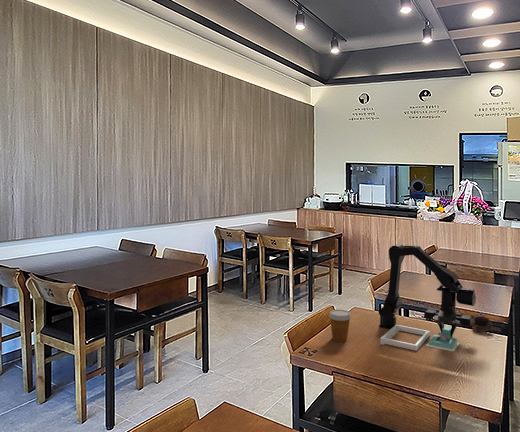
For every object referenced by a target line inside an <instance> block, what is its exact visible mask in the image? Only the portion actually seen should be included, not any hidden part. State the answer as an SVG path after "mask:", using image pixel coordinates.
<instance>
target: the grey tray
mask: <svg viewBox="0 0 520 432" xmlns="http://www.w3.org/2000/svg"><path fill="white" fill-rule="evenodd" d="M399 331H402V332H406V333H407V332H408V333H410V334H411V333H412V334H417V335H421V337H420V338H419V339H418V340H417V342H416V343H415V344H414V343H410V342H405V341H402V340H401V341H400V340H398V339H397V340H396V339H392V338H393V337H394V336H395V335H396V334H398V333H399ZM430 333H431V331H430V330H425V329H421V328H416V327H410V326H406V325H400V324H396V325H395V326H394V327H393V328H391V329H388V331H387V332H386V333H384V335H382V336H381V337H380V345H381V346H385V344H386V345H390V346H395V347H397V348H398V347H399V348H403V349H408V350H412V351H415V352H416V351H418V350H419V349H420V348H421V346H422V345H423V344H424V343H425V341H426V340H427V339H428V338H429V337H430V335H431V334H430Z"/></svg>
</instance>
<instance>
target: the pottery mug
mask: <svg viewBox="0 0 520 432" xmlns="http://www.w3.org/2000/svg"><path fill="white" fill-rule="evenodd" d="M469 316H471V317H472V319H473V321H472V324H471V327H472V330H471V331H472V332H475V333H486V332H491V330H493V327H492V326H493V323H492V322H491V320H490V319H489V318H488V317H487V316H484V315H477V316H474V315H469Z"/></svg>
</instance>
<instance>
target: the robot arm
mask: <svg viewBox="0 0 520 432" xmlns="http://www.w3.org/2000/svg"><path fill="white" fill-rule="evenodd" d="M405 256H414V257H415V258H416V259H417V260H418V261H420V263H422V264H423V265H424V266H425V267H426V268H427V269H428V270H430V271H431V272H432V273H433V274H434V275H435V278H436V280H437V281H438V282H439V283H440V285H439V287H437V288H436V290H437V292H438V291H439V292H440V291H441V300H440V303H441V304H440V309H439V310H438V311H439V312H437V310H436V309H435V310H434V309H431V308H430V309H427V310H426V311H424V313H423V319H427V320H432V319H434V320H433V322H435V323H436V324H437V325H438V327H439V330H440V333H442V329H443V328H444V326H445V324H446V325H447V324H448V325H449V324H451V327H452V328H451V338H453V336H454V333H455V331H456V329H457V327H460V326H466V327H472V321H473V319H472V317H471V316H470V315H463V314H462V315H461V316H457V313H456V307H457V303H458V304H460V305H465V306H469V307H470V306H471V307H474V306H475V305H476V302H477V296H476V292H475V289H472V288H464V287H463V285H462V283H461V282H460V280H459V277H458V274H456V273H455V272H453V271H452V270H450V269H449V268H447V267H444V266H442V265H441V264H440V263H438V261H436V260H435V259H434V258H433V257H432V256H431V255H429V254H428V253H427V252H426V251H425V250H424V249H422V247H421V246H420V245H403V244H402V243H398V244H394V245H391V246H389V249H388V259H389V262H390V269H389V270H390V271H389V280H388V292H387V294H386V298H385V299H384V302H383V307H381V308H380V309H379V310H378V314H379V316H380V317H379V325H378V328H382V329H387V330H390V329H391V328H393V327H394V326H395V325H397V317H396V313H397V311H398V310H399V309H400V308H401V307H402V306H403V303H402V302H403V297H402V296H400V294H399V290H400V282H401V280H400V279H401V270H402V263H403V261H404V259H405ZM456 302H457V303H456Z"/></svg>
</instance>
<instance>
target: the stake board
mask: <svg viewBox="0 0 520 432" xmlns="http://www.w3.org/2000/svg"><path fill="white" fill-rule="evenodd" d="M437 335H440V340H438V341H441V342H445V343H449V342H446V337H448V336H449V335H448V334H443V333H441V332H438V333H437ZM430 340H431V338H430ZM430 340H429V341H430ZM429 341H427V343H426V344H425V346H426V347H431V348H436V349H440V350H443V351H444V350H445V351H450V352H454V353H455V350H456V349H457V348H458V346H459V344H460V342H458V341H457V343H456V344H455V346H454V347H453V349H448V348H444V347H439V346H434V345H430V344H429Z"/></svg>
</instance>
